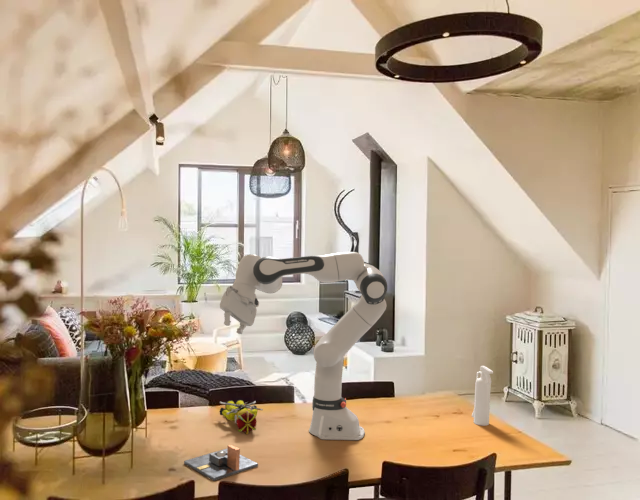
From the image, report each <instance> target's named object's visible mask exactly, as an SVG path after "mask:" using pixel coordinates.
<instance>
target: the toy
mask: <svg viewBox="0 0 640 500" xmlns="http://www.w3.org/2000/svg"><path fill="white" fill-rule="evenodd" d="M256 403H257V402H256V400H254V401H250V402H249V403H248V401H247V402H244V400H243V399H238V400H236V401H234V400H230V399H229V400H227V401H219V404H221V405H225V406H224V407H220V409H219V415H220V416H223V417H224V418H226V419H227V420H228V421H233V422H234V424H235V425H236V427H237V431H238V432H239V433H240V432H243V433H244V434H245V435H249V432H251V431H252V430H253V431H256V430H257V428H256V425H257V415H258V411H263V410H264V408H258V407H257V405H254V404H256Z"/></svg>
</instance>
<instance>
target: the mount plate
mask: <svg viewBox="0 0 640 500" xmlns="http://www.w3.org/2000/svg"><path fill="white" fill-rule="evenodd" d="M222 450H225V451H222ZM226 451H227V448H224V449H221V451H220V450H217V451H213V452H212V453H214V452H217V456H218V457H222V456H226ZM210 453H211V452H210ZM210 453H207V454H204V455H199V456H196V457H194V458H189V459H186V460H184V461H183V464H184V465H186V466H188V467H189V468H191V469H192V470H195V471H196V472H198V473H199V474H201V475H203V477H206V478H207V479H209V480H211V481H213V482H214V481H218V480H221V479H223V478H227V477H230V476H233V475H236V474H239V473H242V472H243V473H244V472H245V471H248V470H251V469H254V468H258V467H259V464H258V462H256V461H253V460H251V459H250V458H248V457H246V456H244V455H243V454H240V461H239V470H236V471H235V470H234V469H232V468H230V467H228V466H227V465H225V464H224V465H221V466H218V465H216V464H214V463H212V462H210V461H209V454H210Z"/></svg>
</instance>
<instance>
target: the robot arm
mask: <svg viewBox="0 0 640 500" xmlns="http://www.w3.org/2000/svg"><path fill="white" fill-rule="evenodd" d="M302 274H305V275H309V276H312V277H313V278H314V279H316V280H317V281H318V282H321V283H325V284H326V283H327V284H331V283H337V282H342V281H348V280H349V281H353V282H354V283H355V286H356V288H357V290H358V291H359V292H360V293H361V295H360V298H359V300H358V301H357V302H356V303H354V305H352V307H350V308H349V310H348V311H346V312H345V314H343V315H342V316H341V317H340V318H339V319H338V321H337V322H336V323H335V324H334V325H333V326H332V327H331V328H330V329H329V330H328V331H327V332H326V333H325V334H324V335H322V336H321V337H320V338H319V340H318V341H317V343H316V344H315V345H314V348H313V358H314V361H315V362H316V364H315V373H314V384H313V385H314V386H313V387H314V388H313V390H314V391H313V397H312V406H311V407H312V415H311V416H312V417H311V422H310V427H309V429H308V431H309V433H310V434H312V435H314V436H315V437H318V438H319V439H320V440H332V441H333V440H335V441H341V440H342V441H343V440H344V441H360V440H362V439H363V438H364V436H365V433H366V432H365V429H364V427H362V426H361V425H360V421H359V418H358V416H357V415H356V414H355V413H354V412H352V410H351V409H349V408H348V407H347V398H346V397H345V398H344V397H342V385H343V370H344V369H343V367H344V357H345V355H346V354H347V353H348V352H349V351H350V350H351V349H352V348H353V346H355V344H356V343H358V341H359V340H360V339H362V337H363V336H364V335H365V334H366V333H367V332H368V331H369V330H370V329H371V328H372V327H373V326H374V325H375V324H376V323H377V322H378V320H379V319H381V317H382V316H383V314H384V313H385V311H386V310H387V305H388V304H387V301H386V299H385V296H386V294H387V292H388V283H387V280H386V278H385V277H384V275H383V273H382V271H380V269H378V268H377V267H376V266H375V265H374V264H372V263H369V262H366V261H365V260H364V258H363V256H362V255H361V254H360V253H359V252H357V251H341V252H340V251H339V252H334V253H328V254H327V253H326V254H322V255H305V256H298V257H297V256H295V257H286V258H278V257H274V256H264V257H261V256H259V255H258V254H254V253H253V254H246V255H244V256H242V258H241V259H240V260H239V263H238V265H237V269H236V272H235V279H234V282H233V283H232V285H229V286H227V288H226V290H225V291H224V292H223V295H222V298H221V300H220V303H219V308H220V309H221V310H222V311H224V313H223V315H224V317H223V318H224V322H223V325H225V326H230V325H231V322H232V321H231V318H233V319H235V320H236V321H237V322H239V327H238V328H236V333H237V334H238V335H242V334H243V332H244V330H245V328H246V327H252V326H253V325H254V322H255V319H256V316H257V312H258V311H257V308H258V307H259V305H260V301H259V300H258V298H257V295H256V290H258V291H260V292H263V293H265V294H275V293H277V292H278V291H279V290H280V289H282V286H283V277H285V276H293V275H294V276H295V275H302Z"/></svg>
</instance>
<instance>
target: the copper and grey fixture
mask: <svg viewBox="0 0 640 500" xmlns="http://www.w3.org/2000/svg"><path fill="white" fill-rule="evenodd" d="M226 449H227V451H226V456H222V457H218V456H217V452H216V451H213V452H214V453H213V452H210V454H209V453H208V454H209V461H210V462H212V463H214V464H216V465H218V466H221V465H224V464H225V465H227V466H228V467H230V468H232V469H234V470H235V471H236V470H239V461H240V455H241V453H240V452H241V451H240V450H241V448H239V447H237V446H234V444H233V445H232V444H229V445H227V448H226ZM221 450H222V451H225V450H223V449H221ZM221 450H219V451H221Z"/></svg>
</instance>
